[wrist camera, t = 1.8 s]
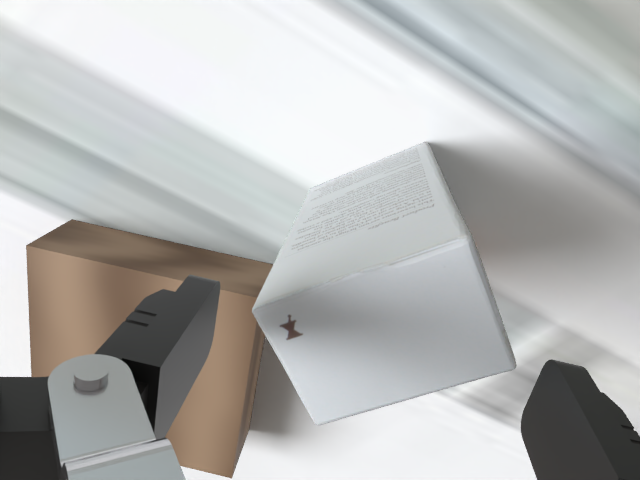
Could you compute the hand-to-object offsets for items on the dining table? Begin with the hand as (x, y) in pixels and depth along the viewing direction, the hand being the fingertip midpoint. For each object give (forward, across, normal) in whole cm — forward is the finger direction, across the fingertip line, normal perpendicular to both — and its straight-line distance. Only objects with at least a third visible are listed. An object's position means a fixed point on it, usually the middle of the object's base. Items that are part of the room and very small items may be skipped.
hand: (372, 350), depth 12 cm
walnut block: (+13, +10, +10) cm, 19 cm away
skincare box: (+13, 0, 0) cm, 13 cm away
